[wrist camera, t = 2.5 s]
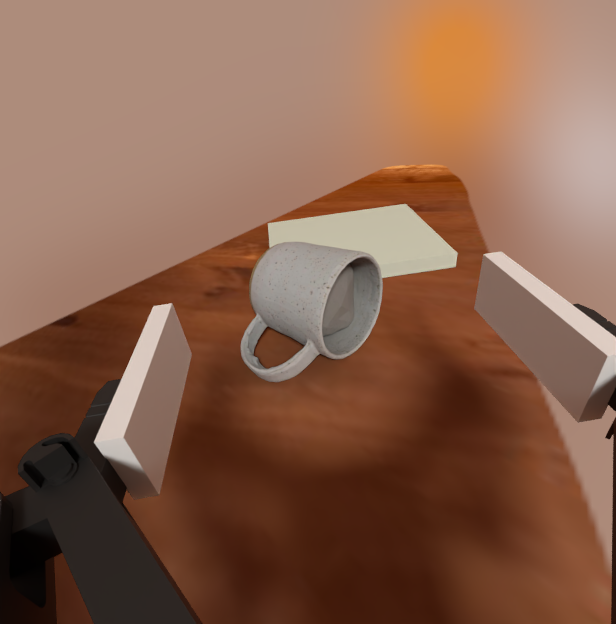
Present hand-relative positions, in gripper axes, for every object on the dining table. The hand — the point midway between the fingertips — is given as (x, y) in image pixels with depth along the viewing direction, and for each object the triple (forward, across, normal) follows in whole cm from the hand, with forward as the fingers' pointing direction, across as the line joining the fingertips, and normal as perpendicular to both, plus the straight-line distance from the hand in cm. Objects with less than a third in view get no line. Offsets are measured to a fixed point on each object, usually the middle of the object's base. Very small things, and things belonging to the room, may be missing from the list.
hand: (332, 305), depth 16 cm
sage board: (+25, +6, -9) cm, 27 cm away
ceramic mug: (+10, -1, -10) cm, 14 cm away
